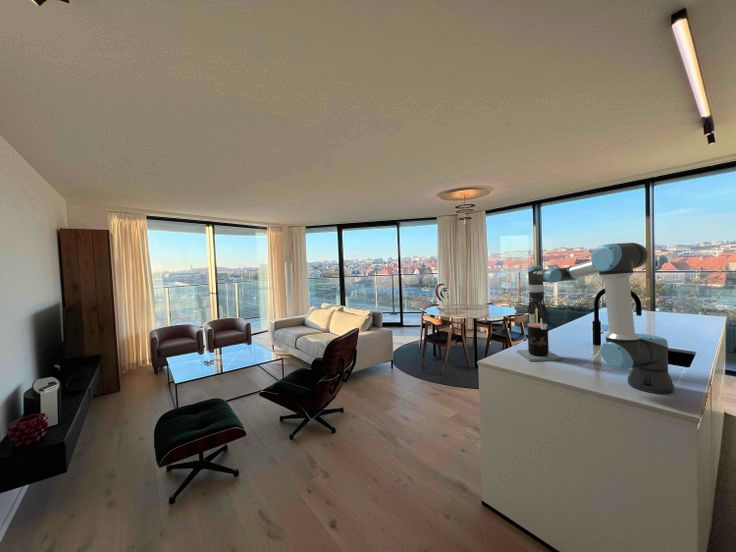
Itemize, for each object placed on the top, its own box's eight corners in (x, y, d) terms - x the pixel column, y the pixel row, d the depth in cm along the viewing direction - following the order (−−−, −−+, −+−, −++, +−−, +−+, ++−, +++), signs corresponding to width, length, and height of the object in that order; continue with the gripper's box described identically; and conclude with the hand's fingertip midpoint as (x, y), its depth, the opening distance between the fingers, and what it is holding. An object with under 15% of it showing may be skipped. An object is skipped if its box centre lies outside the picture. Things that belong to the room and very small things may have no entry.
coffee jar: (528, 355, 179) (527, 325, 179) (528, 350, 189) (527, 322, 188) (549, 357, 174) (548, 326, 174) (548, 352, 184) (547, 323, 183)
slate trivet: (562, 360, 172) (562, 358, 172) (530, 361, 174) (529, 359, 173) (546, 350, 190) (545, 348, 190) (516, 352, 191) (516, 350, 191)
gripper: (554, 293, 167) (555, 330, 168) (532, 289, 192) (534, 322, 193) (540, 293, 168) (541, 331, 168) (520, 290, 193) (522, 323, 193)
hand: (537, 326), depth 181 cm, fingers open, 13 cm apart
